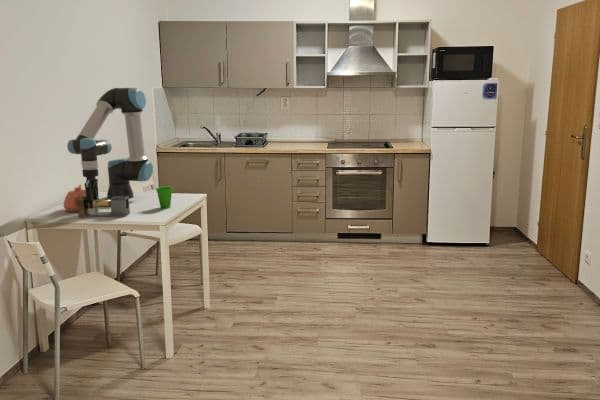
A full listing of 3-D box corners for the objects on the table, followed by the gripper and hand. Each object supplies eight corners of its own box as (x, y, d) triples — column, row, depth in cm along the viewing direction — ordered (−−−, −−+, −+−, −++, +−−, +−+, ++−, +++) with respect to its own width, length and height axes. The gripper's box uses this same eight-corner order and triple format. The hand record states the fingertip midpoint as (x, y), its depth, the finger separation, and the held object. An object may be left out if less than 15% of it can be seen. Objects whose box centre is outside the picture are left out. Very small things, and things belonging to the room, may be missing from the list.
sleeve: (115, 213, 288) (114, 196, 286) (129, 213, 288) (128, 196, 286) (111, 216, 281) (110, 198, 279) (126, 216, 282) (125, 198, 280)
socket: (84, 213, 288) (82, 195, 286) (89, 213, 288) (88, 195, 286) (78, 217, 280) (76, 198, 278) (84, 217, 280) (82, 198, 278)
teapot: (67, 206, 306) (65, 184, 304) (96, 204, 310) (94, 183, 308) (61, 215, 286) (58, 191, 283) (91, 213, 289) (89, 190, 287)
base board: (84, 213, 288) (84, 212, 288) (130, 213, 289) (130, 211, 289) (78, 217, 280) (78, 215, 280) (125, 216, 281) (125, 215, 281)
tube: (84, 207, 286) (83, 198, 285) (116, 207, 286) (115, 198, 285) (81, 209, 281) (80, 200, 280) (113, 209, 281) (112, 200, 280)
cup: (176, 206, 304) (175, 186, 302) (168, 209, 296) (167, 189, 294) (162, 205, 307) (161, 186, 305) (153, 208, 298) (152, 189, 296)
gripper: (88, 166, 287) (92, 209, 292) (76, 171, 271) (80, 217, 276) (102, 166, 288) (106, 209, 293) (91, 171, 271) (95, 217, 276)
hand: (93, 213), depth 284 cm, fingers closed on tube, 4 cm apart
